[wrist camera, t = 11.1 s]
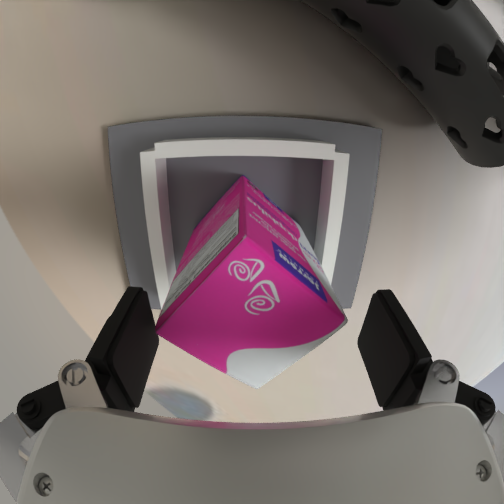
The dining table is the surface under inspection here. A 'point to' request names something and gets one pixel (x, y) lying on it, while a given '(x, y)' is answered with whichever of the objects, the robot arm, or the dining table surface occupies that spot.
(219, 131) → the socket plate
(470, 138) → the muzzle brake
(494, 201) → the dining table surface
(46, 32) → the dining table surface
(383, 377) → the robot arm
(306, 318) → the supplement box
